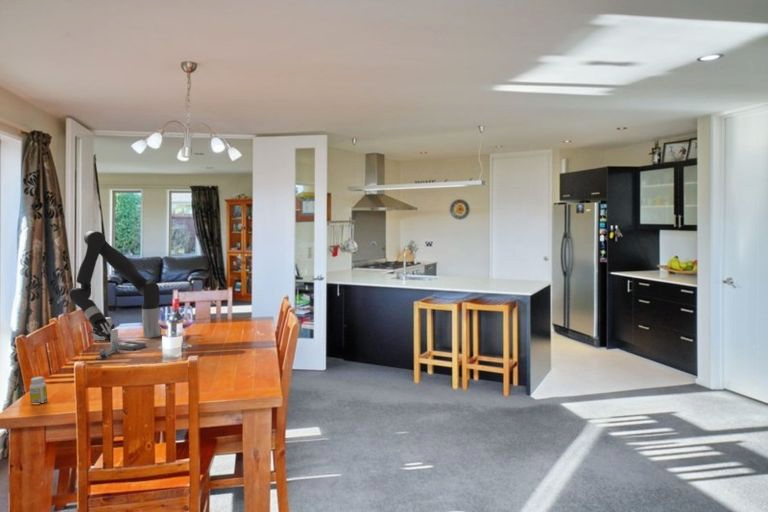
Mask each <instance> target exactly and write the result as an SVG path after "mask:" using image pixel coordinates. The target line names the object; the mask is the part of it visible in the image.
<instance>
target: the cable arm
mask: <svg viewBox="0 0 768 512" xmlns="http://www.w3.org/2000/svg"><path fill="white" fill-rule="evenodd" d="M110 340H111V342H110V348H109V349H107V350H106V349H100V350H99V354H100V356H99V357H106V356H109V355H110V356H111V355H112V354H114V353H115V352H119V350H120V349H119V345H118V344H119V329H118V328H114V329H112V330H110Z"/></svg>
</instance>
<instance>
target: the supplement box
mask: <svg viewBox="0 0 768 512" xmlns="http://www.w3.org/2000/svg"><path fill="white" fill-rule="evenodd" d="M104 317H105V316H104ZM105 318H106V321H107V322H108V323H109V324H111V325H112V324H113V322H112V317H111V316H110V317H107V316H106V317H105ZM99 334H100V333H99ZM92 337H93V341H99V340H104V341H106V340H105V339H106V338H105V337H104V336H102V337H100V336H98V335H96V334H94V333H92ZM99 342H100V341H99Z"/></svg>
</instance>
